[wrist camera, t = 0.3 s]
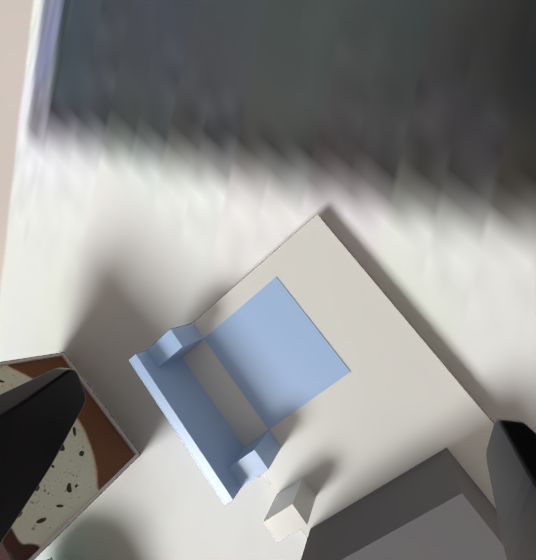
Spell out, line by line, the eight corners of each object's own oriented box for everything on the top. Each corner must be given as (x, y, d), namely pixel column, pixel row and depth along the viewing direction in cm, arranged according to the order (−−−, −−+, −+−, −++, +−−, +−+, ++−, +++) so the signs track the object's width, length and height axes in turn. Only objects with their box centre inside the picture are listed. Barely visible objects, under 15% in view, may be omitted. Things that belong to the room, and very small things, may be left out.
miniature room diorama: (582, 529, 18) (641, 607, 14) (370, 630, 21) (365, 719, 17) (319, 216, 21) (303, 203, 17) (171, 344, 24) (128, 360, 20)
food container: (10, 388, 29) (-175, 447, 19) (52, 336, 28) (-125, 372, 18) (102, 521, 27) (-57, 663, 17) (153, 472, 25) (11, 596, 16)
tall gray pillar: (503, 517, 18) (534, 584, 14) (355, 593, 20) (348, 669, 16) (446, 447, 19) (462, 493, 15) (310, 528, 21) (293, 586, 17)
